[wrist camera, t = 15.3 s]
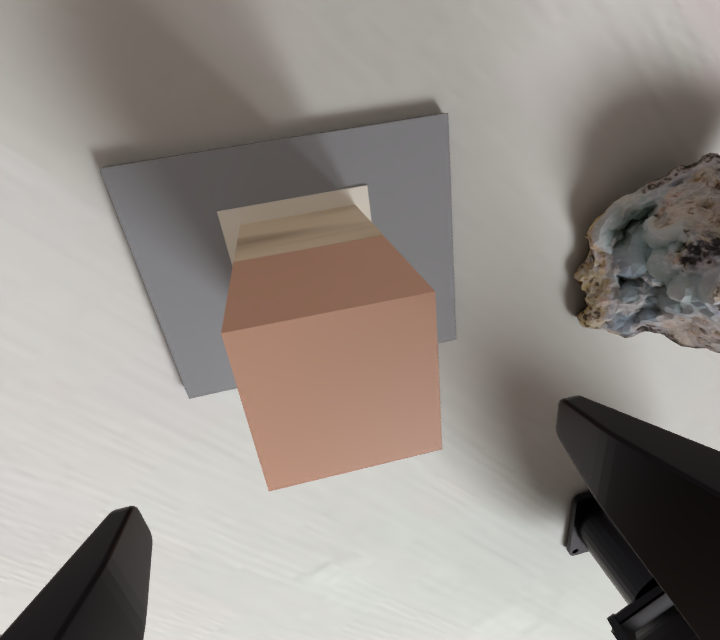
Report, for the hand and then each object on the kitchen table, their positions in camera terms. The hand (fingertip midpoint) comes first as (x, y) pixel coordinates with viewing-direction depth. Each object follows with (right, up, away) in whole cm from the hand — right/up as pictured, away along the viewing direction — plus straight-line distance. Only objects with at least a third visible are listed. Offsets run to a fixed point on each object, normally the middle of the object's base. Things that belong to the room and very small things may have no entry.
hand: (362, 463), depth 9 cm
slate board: (-3, +6, +11) cm, 13 cm away
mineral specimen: (+16, +8, +15) cm, 23 cm away
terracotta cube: (-1, +3, +6) cm, 7 cm away
